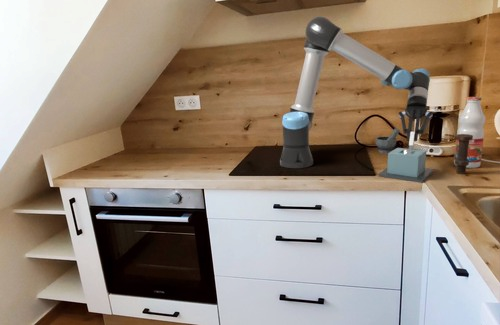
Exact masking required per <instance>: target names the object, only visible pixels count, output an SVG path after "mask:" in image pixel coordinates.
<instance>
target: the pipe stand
mask: <svg viewBox="0 0 500 325" xmlns="http://www.w3.org/2000/svg"><path fill="white" fill-rule="evenodd" d="M403 153H407V154H412V149H409V148H405V149H403ZM431 173H432V174H433V173H434V169H432V168H426V167H425V171H423V172H422V173H421V174H420V175H419V176H418V177H411V176H404V175H397V174H390V173H387V167H386V168H385V169H384V170H382V171H381V172H379V173H378V174H377V175H378V177H380V178H387V179H394V180H401V181H407V182H414V183H420V184H421V183H422V184H423V182H425V180H427V179H428V178H429V177H430V176H431V175H432V174H431ZM430 174H431V175H430ZM429 175H430V176H429ZM428 176H429V177H428ZM427 177H428V178H427Z"/></svg>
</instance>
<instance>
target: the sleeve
mask: <svg viewBox="0 0 500 325" xmlns="http://www.w3.org/2000/svg"><path fill="white" fill-rule="evenodd" d="M403 149H406V148H404V147H403V148H402V147H397V148H395V149H393V150H392V151H391V152H390V153H387V167H386V168H387V173H390V174H397V175H404V176H411V177H418V176H419V175H420V174H421V173H422V172H423V171H425V168H426V162H427V150H425V149H415V148H413V149H412V154H407V153H403Z"/></svg>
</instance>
